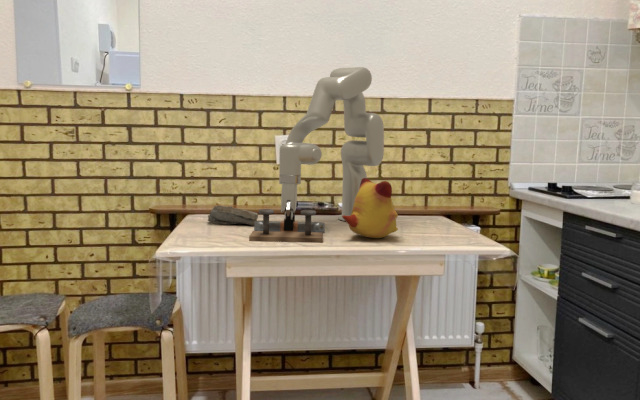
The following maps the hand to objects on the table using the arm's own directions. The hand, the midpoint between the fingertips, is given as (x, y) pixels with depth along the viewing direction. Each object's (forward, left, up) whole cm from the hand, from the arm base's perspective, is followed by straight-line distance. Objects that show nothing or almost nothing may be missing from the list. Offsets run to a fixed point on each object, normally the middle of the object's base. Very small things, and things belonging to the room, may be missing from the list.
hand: (289, 228), depth 204 cm
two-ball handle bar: (0, 0, -1) cm, 1 cm away
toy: (-27, +8, -2) cm, 28 cm away
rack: (0, +12, -1) cm, 12 cm away
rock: (+22, -13, -2) cm, 26 cm away
